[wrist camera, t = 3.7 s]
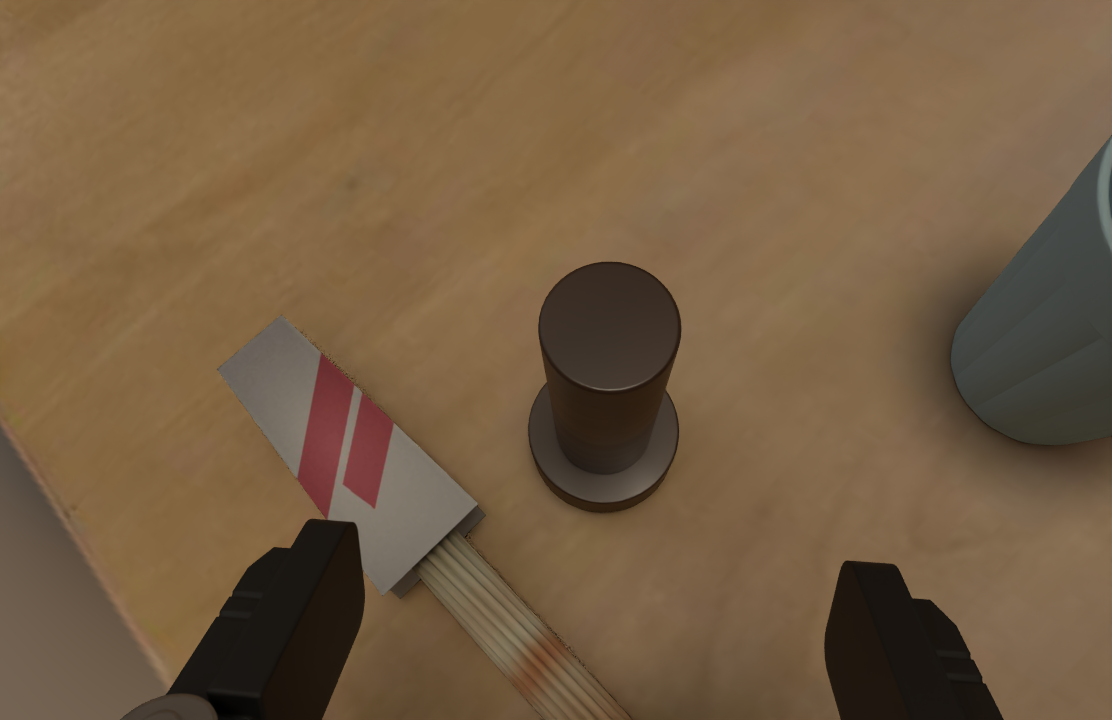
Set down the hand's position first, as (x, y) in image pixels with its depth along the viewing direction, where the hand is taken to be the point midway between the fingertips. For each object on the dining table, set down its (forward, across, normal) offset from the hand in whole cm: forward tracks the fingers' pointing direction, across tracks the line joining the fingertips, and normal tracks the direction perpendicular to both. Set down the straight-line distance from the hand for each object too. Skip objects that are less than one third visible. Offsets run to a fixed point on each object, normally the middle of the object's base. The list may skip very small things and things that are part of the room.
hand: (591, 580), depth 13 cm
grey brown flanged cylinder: (+13, 0, +5) cm, 14 cm away
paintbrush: (+10, +5, +8) cm, 14 cm away
